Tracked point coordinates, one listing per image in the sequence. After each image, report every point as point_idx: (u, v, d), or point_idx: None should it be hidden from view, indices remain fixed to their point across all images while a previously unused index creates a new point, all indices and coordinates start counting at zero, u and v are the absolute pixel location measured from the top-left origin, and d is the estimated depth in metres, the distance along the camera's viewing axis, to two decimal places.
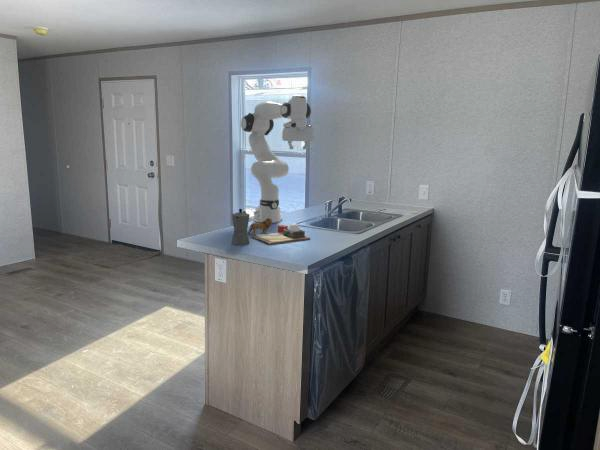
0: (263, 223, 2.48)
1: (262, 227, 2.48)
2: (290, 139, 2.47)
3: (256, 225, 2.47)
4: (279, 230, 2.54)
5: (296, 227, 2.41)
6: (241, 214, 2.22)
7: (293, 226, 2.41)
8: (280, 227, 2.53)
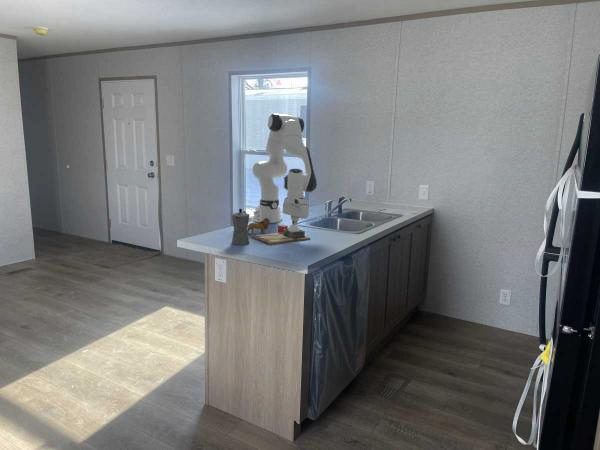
0: (261, 223, 2.47)
1: (260, 227, 2.47)
2: None
3: (254, 225, 2.46)
4: (279, 230, 2.54)
5: (296, 228, 2.41)
6: (241, 214, 2.22)
7: (293, 227, 2.41)
8: (280, 227, 2.53)
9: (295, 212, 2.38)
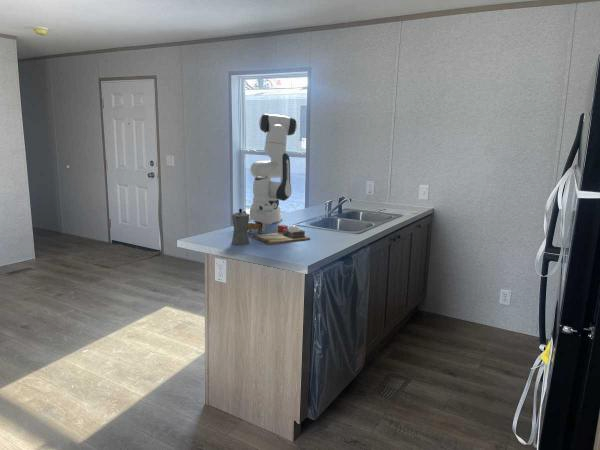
0: (259, 223, 2.47)
1: (258, 227, 2.47)
2: None
3: (252, 225, 2.46)
4: (279, 230, 2.54)
5: (296, 229, 2.41)
6: (241, 214, 2.22)
7: (293, 228, 2.41)
8: (280, 227, 2.53)
9: (260, 218, 2.45)
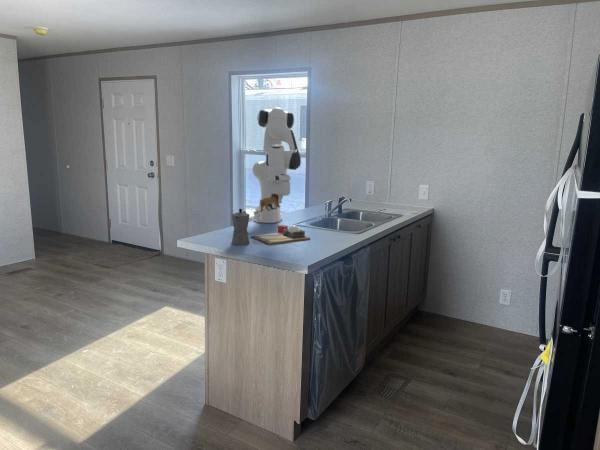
0: (274, 196, 2.30)
1: (274, 201, 2.30)
2: None
3: (267, 200, 2.29)
4: (279, 230, 2.54)
5: (296, 229, 2.41)
6: (241, 214, 2.22)
7: (293, 228, 2.41)
8: (280, 227, 2.53)
9: (276, 189, 2.28)
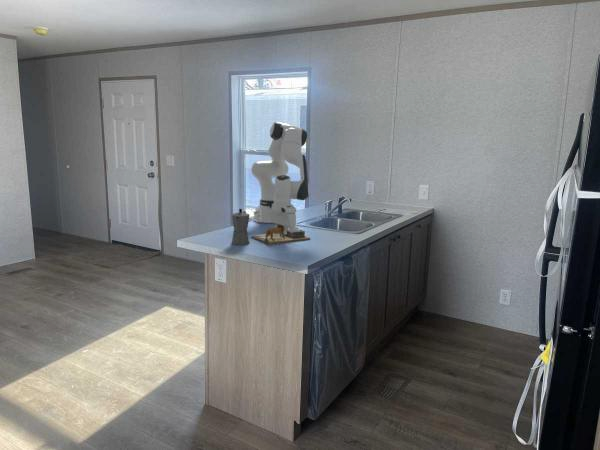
0: (280, 227, 2.29)
1: (279, 231, 2.29)
2: None
3: (273, 230, 2.28)
4: None
5: (296, 229, 2.41)
6: (241, 214, 2.22)
7: (293, 228, 2.41)
8: None
9: (282, 221, 2.27)
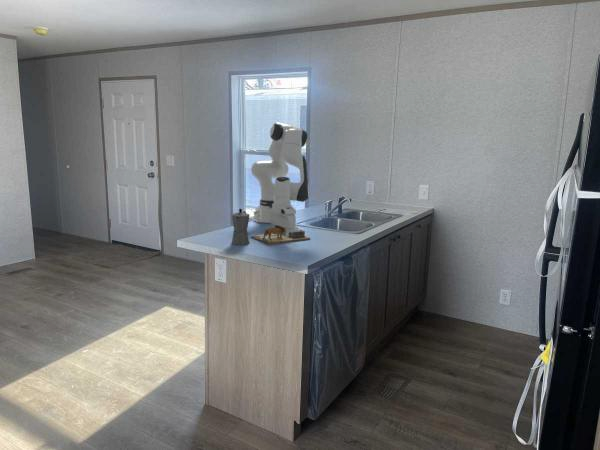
0: (279, 227, 2.31)
1: (277, 231, 2.31)
2: None
3: (271, 230, 2.29)
4: None
5: (296, 229, 2.41)
6: (241, 214, 2.22)
7: None
8: None
9: (281, 222, 2.27)
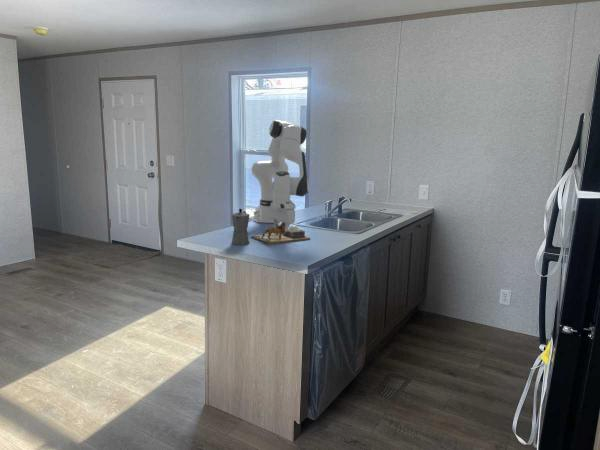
0: (280, 229, 2.31)
1: (278, 232, 2.31)
2: None
3: (272, 230, 2.29)
4: None
5: (296, 229, 2.41)
6: (241, 214, 2.22)
7: (293, 228, 2.41)
8: None
9: (281, 217, 2.27)
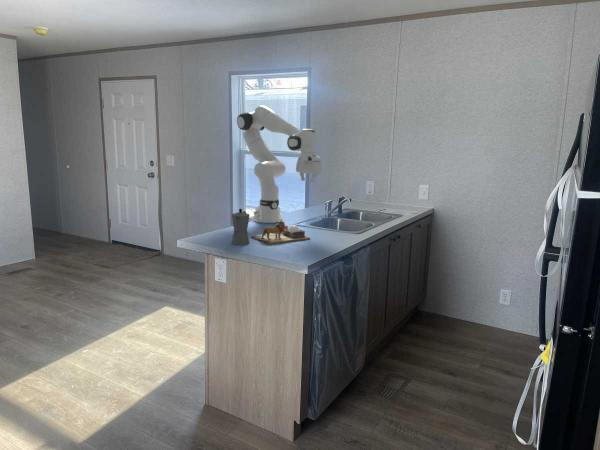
0: (277, 227, 2.33)
1: (276, 231, 2.33)
2: None
3: (270, 229, 2.31)
4: None
5: (296, 229, 2.41)
6: (241, 214, 2.22)
7: (293, 228, 2.41)
8: None
9: (308, 169, 2.53)
